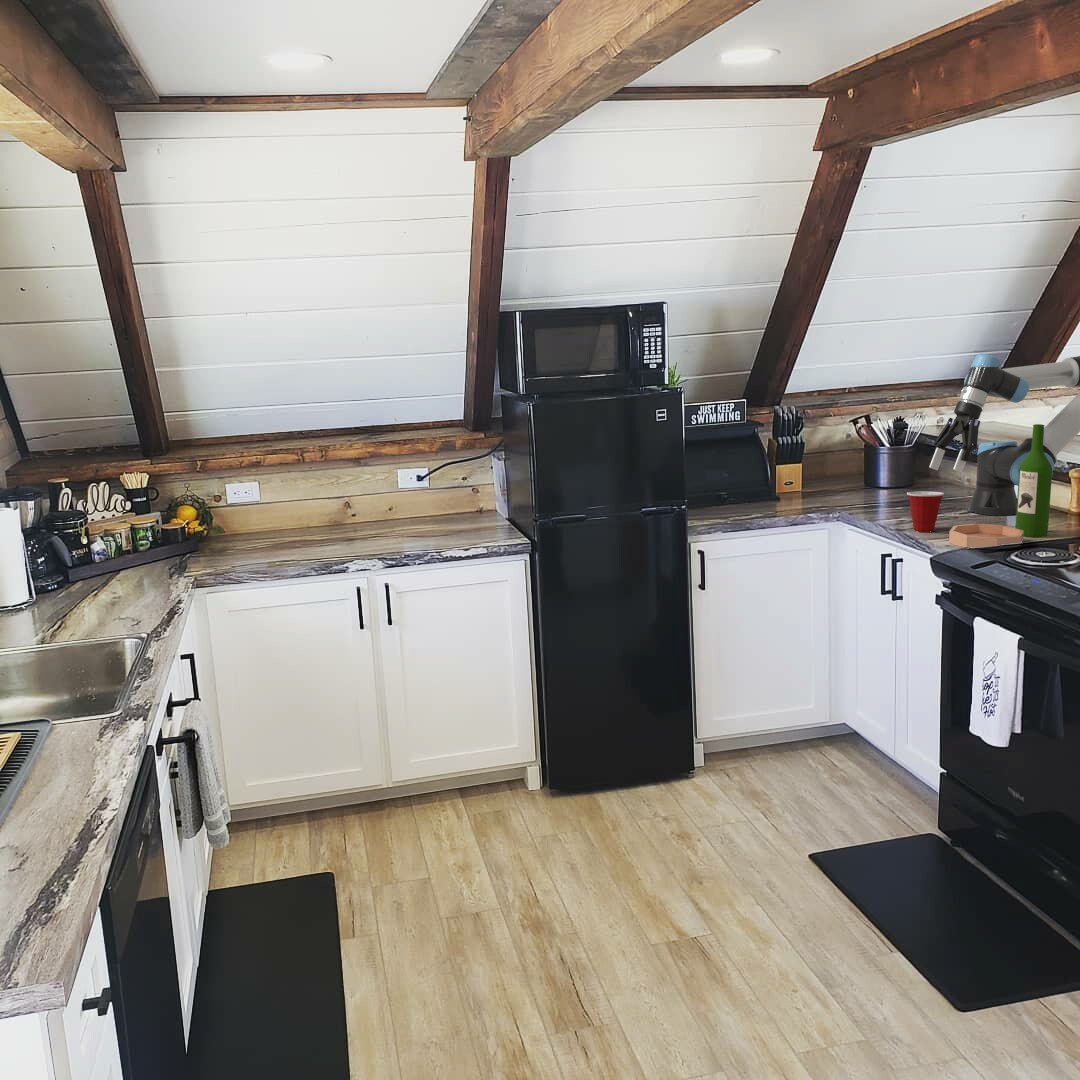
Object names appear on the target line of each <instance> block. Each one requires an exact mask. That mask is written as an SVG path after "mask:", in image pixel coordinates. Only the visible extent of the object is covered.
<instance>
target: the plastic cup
mask: <svg viewBox="0 0 1080 1080" xmlns="http://www.w3.org/2000/svg"><path fill="white" fill-rule="evenodd" d="M906 494H907V495H906V496H907V497H908V501H909V504H910V505H909V506H910V513H911V521H912V527H913V531H914V530H915V531H914V532H916V531H918V532H917V533H925V532H926V533H931V532H930V531H933V532H934V530H935V527H936V523H937V519H938V515H939V511H940V507H941V506H940V504H941V503H942V500H943V499H942V498H943V496H944V495H945V493H944V492H940V491H909V492H906Z"/></svg>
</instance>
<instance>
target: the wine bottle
mask: <svg viewBox="0 0 1080 1080" xmlns="http://www.w3.org/2000/svg"><path fill="white" fill-rule="evenodd" d="M1032 426H1033V427H1032V436H1031V437H1032V447H1031V451H1030V453H1029V454H1028V455H1027V457H1026V458H1025V459H1024V461H1023V462H1022V463H1021V465H1020V469H1019V480H1018V486H1017V494H1016V496H1017V510H1016V514H1015V527H1014V528H1016V529H1020V530H1023V531H1024V535H1023V538H1036V537H1037V538H1043V537H1042V536H1045V537H1047V536H1048V535H1049V533H1048V532H1049V522H1050V519H1049V518H1050V506H1051V493H1052V492H1051V491H1052V480H1053V479H1052V478H1053V475H1052V467H1051V464H1050V462H1049V461H1048V459H1047V457H1046V455H1045V454H1044V452H1043V439H1044V427H1045V424H1037V423H1036V424H1033V425H1032Z"/></svg>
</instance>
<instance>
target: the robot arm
mask: <svg viewBox="0 0 1080 1080" xmlns="http://www.w3.org/2000/svg"><path fill="white" fill-rule="evenodd" d="M1000 364H1001V360H1000V359H999V358H998V357H997V356H994V355H992V354H987V353H979V354H976V356H975V357H974V359H973V361H972V363H971V365H970V367H969V372H968V374H966V375H965V378H964V380H963V382H964V383H963V387H962V389H961V393H960V396H959V398H958V399H959V401H957V403H956V405H955V407H954V410H953V412H954V414H955V415H956V416H955V418H952V417H949V418H948V421H947V422H946V425H945V426H944V427H943V429H942V430H941V432H940V433H939V435H938V436H937V437H936V439H935V440H934V442H933V444H932V445H933V446H934V447H935V451H934V454H933V455H932V459H931V462H930V464H929V467H928V468H930V469H933V470H935V471H939V468H940V466H941V463H942V460H943V457H944V455H945V453H946V448H947V447H948V446H949V444H951V443H952V441H953V440H954V439H955V438H956V437H957V436H959V435H961V439H962V440H961V441H962V446H961V448H960V451H959V453H958V456H957V458H956V461H955V464H954V467H953V468H952V469H953V471H956V472H959V473H963V471H964V469H965V467H966V466H965V465H966V464H967V461H968V459H969V456H970V453H971V452H973V451H976V450H977V448H978V450H977V454H976V455H977V461H976V462H977V466H976V483H975V484H976V485H975V490H974V492H973V495H972V498H971V500H970V502H969V505H968V510H970V511H969V512H971V513H973V512H974V513H973V514H977V513H979V515H984V516H1014V515H1016V510H1017V493H1016V490H1015V486H1017V487H1018V480H1019V469H1020V465H1021V463H1022V462H1023V461H1024V459H1025V458H1026V457H1027V455H1028V454H1029V453H1030V451H1031V447H1032V436H1031V437H1027V438H1025V439H1024V440H1023V441H1022V442H1021V443H1020V444H1019V445H1018V441H1016V440H1011V441H1010V440H1007V441H1006V440H1004V441H987V442H982V443H980V444H979V446H978V438H979V428H980V424H981V420H979V419H980V416H981V414H982V411H983V407H984V406H985V404H986V401H987V398H988V397H992V398H999V399H1004V400H1005V401H1007V402H1011V403H1015V404H1016V403H1017V404H1018V403H1020V402H1022V401H1023V400H1024V399H1025V398H1026V397H1027V395H1028V394H1029V393H1028V392H1029V390H1036V389H1043V388H1050V387H1053V388H1054V387H1059V386H1064V387H1065V388H1080V355H1077V356H1071V357H1066V358H1064V359H1063V360H1062V361H1057V362H1049V363H1039V364H1034V365H1032V364H1031V365H1024V366H1016V367H1007V368H1001V367H1000V366H1001V365H1000ZM1079 433H1080V392H1078V393H1077V394H1076V395H1075V396H1074V397H1073V398H1072V399H1071V400H1070V401H1069V402H1068V404H1066V405H1065V406H1064V407H1063V408H1062V409H1061V410H1060V411H1059V413H1057V414H1056V415H1055V416H1054V417H1053V418H1052V419H1051V421H1049V422H1048V423H1047V424H1046V425H1044V439H1043V452H1044V454H1045V455H1046V457H1047V459H1048V461H1049V462H1050V464H1051V467H1052V476H1053V475H1054V472H1053V471H1054V470H1055V465H1056V463H1057V461H1058V459H1057V458H1058V457H1057V456H1058V455H1059V453H1061V451H1062V450H1063V449H1064V448H1066V446H1068V445H1069V444H1070V442H1072V440H1073V439H1075V437H1076V436H1077V435H1079Z"/></svg>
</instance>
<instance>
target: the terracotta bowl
mask: <svg viewBox="0 0 1080 1080" xmlns="http://www.w3.org/2000/svg"><path fill="white" fill-rule="evenodd" d="M948 535H949V537H948V543H949V542H950V543H949V544H951V543H952V545H956V546H959V547H961V548H964V547H987V546H995V545H1001V544H1009V543H1017V542H1021V541H1023V542H1024V537H1023V535H1024V531H1023V530H1020V529H1016V528H1015V527H1011V526H1008V525H1002V524H990V523H988V524H987V523H968V524H958V525H956V524H955V525H953V526H952V527H951V529H949V534H948Z"/></svg>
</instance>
